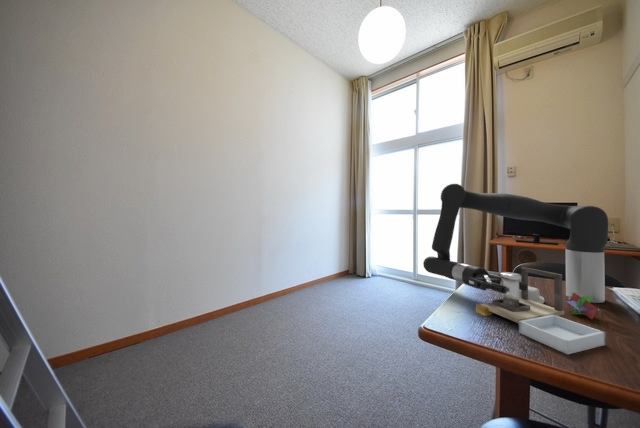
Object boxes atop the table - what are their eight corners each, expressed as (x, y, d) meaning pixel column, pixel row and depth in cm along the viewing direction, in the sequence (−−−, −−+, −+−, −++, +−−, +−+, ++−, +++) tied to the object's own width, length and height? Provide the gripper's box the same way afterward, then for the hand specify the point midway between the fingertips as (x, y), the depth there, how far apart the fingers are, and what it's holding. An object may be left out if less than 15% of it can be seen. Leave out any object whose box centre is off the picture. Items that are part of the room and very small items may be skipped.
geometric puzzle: (616, 316, 65) (594, 287, 70) (593, 317, 65) (573, 288, 70) (591, 322, 71) (573, 295, 76) (570, 323, 71) (553, 296, 75)
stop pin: (508, 302, 75) (508, 271, 75) (525, 308, 70) (525, 275, 70) (496, 304, 74) (496, 272, 74) (513, 310, 69) (513, 277, 69)
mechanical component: (518, 304, 81) (552, 306, 79) (518, 291, 81) (552, 292, 79) (501, 294, 90) (531, 295, 88) (501, 282, 90) (531, 283, 88)
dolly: (521, 304, 79) (520, 266, 79) (564, 319, 68) (563, 274, 68) (475, 312, 74) (475, 270, 74) (514, 329, 63) (513, 281, 63)
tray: (553, 325, 65) (553, 314, 65) (605, 344, 55) (605, 332, 55) (518, 332, 62) (518, 321, 62) (567, 354, 52) (567, 341, 52)
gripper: (453, 266, 84) (498, 278, 69) (484, 263, 88) (533, 274, 72) (453, 287, 84) (498, 304, 69) (484, 283, 88) (533, 298, 72)
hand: (516, 288), depth 70 cm, fingers open, 8 cm apart
